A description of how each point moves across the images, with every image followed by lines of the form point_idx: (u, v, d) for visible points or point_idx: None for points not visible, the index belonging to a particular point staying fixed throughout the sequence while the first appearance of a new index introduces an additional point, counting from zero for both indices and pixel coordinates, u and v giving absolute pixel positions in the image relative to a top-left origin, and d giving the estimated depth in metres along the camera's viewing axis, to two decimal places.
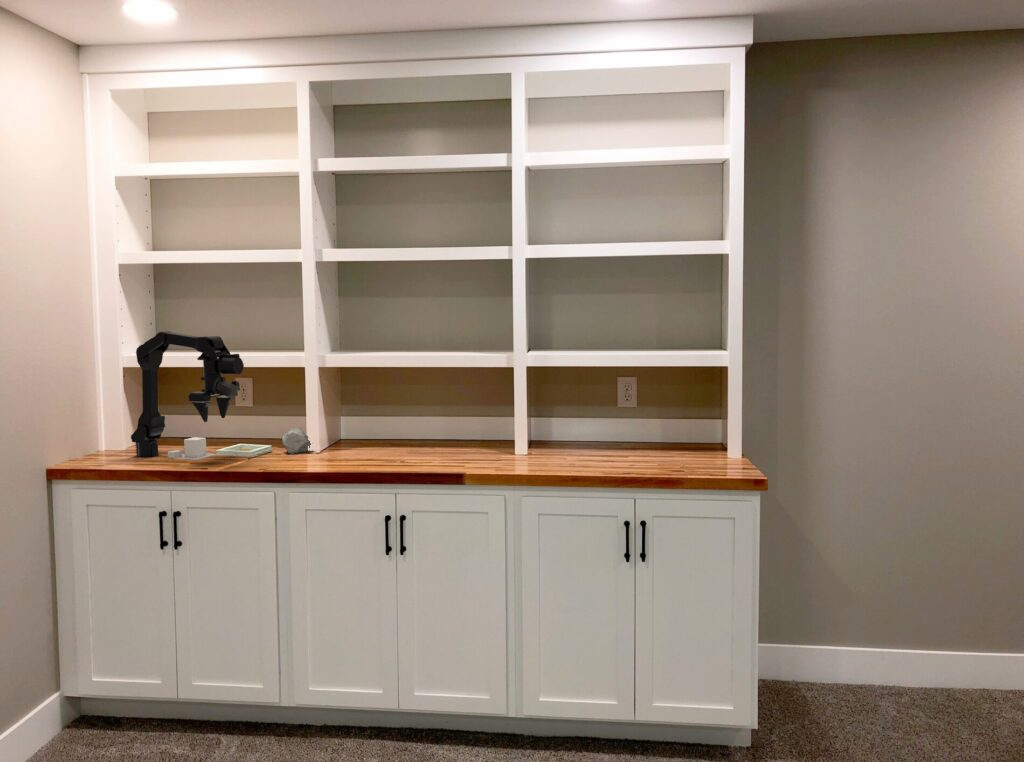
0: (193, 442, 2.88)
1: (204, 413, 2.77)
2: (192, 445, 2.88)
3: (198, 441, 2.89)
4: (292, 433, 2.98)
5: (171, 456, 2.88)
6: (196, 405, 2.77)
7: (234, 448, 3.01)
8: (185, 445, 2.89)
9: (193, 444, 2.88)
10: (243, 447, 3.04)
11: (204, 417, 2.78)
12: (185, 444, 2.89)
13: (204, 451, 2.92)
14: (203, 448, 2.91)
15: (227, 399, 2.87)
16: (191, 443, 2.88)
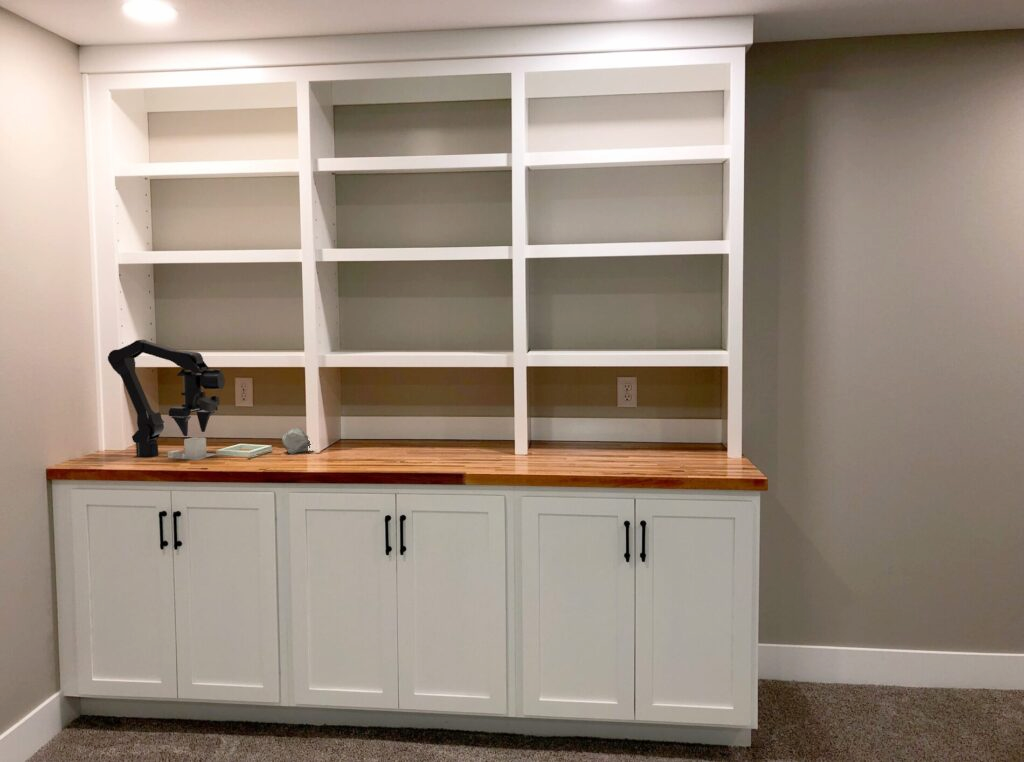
0: (193, 442, 2.88)
1: (184, 427, 2.85)
2: (192, 445, 2.88)
3: (198, 441, 2.89)
4: (292, 433, 2.98)
5: (171, 456, 2.88)
6: (176, 420, 2.84)
7: (234, 448, 3.01)
8: (185, 445, 2.89)
9: (193, 444, 2.88)
10: (243, 447, 3.04)
11: (184, 431, 2.85)
12: (185, 444, 2.89)
13: (204, 451, 2.92)
14: (203, 448, 2.91)
15: (207, 413, 2.94)
16: (191, 443, 2.88)
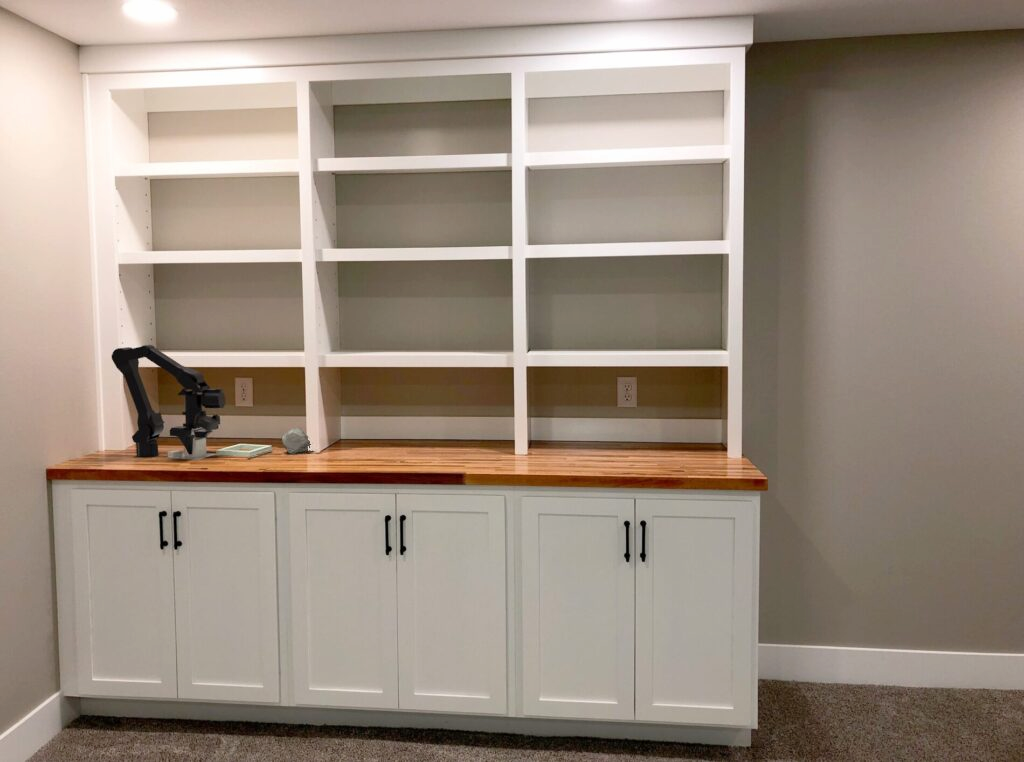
0: (193, 442, 2.88)
1: (189, 446, 2.87)
2: None
3: (198, 441, 2.89)
4: (292, 433, 2.98)
5: (171, 456, 2.88)
6: (181, 438, 2.87)
7: (234, 448, 3.01)
8: None
9: (193, 444, 2.88)
10: (243, 447, 3.04)
11: (189, 450, 2.88)
12: None
13: (204, 451, 2.92)
14: (203, 448, 2.91)
15: (204, 433, 2.93)
16: None
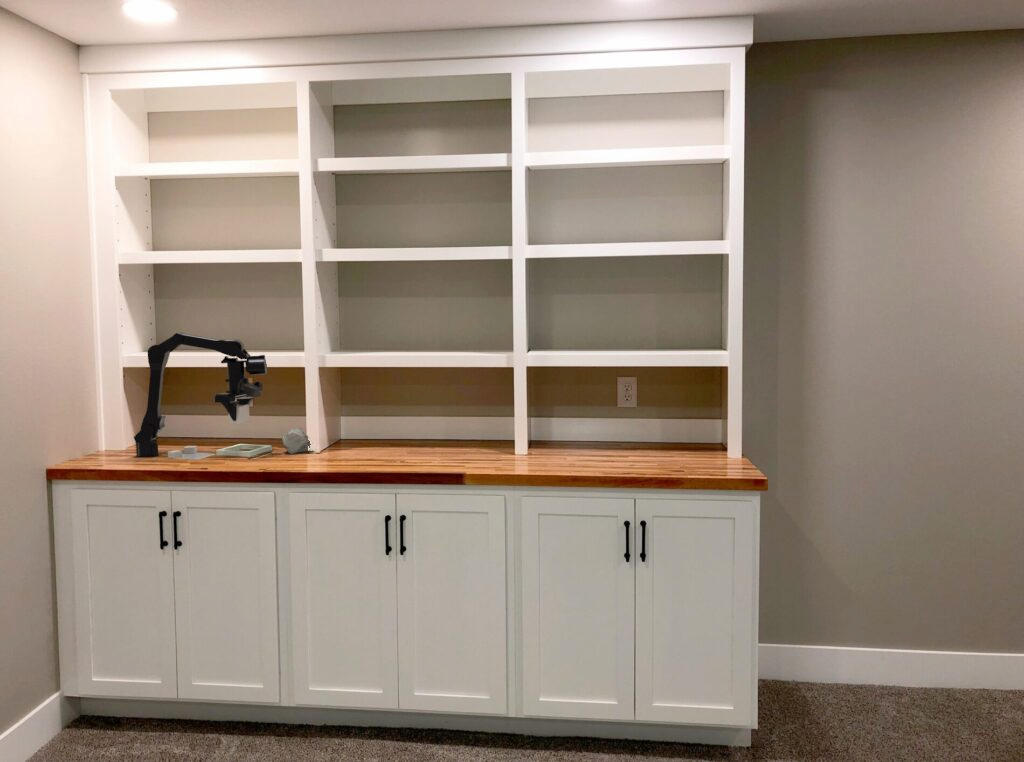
0: None
1: (233, 412, 2.92)
2: None
3: (242, 407, 2.93)
4: (292, 433, 2.98)
5: (171, 456, 2.88)
6: (225, 405, 2.92)
7: (234, 448, 3.01)
8: None
9: (237, 410, 2.93)
10: (243, 447, 3.04)
11: (233, 416, 2.93)
12: None
13: (247, 417, 2.97)
14: (247, 414, 2.96)
15: (247, 400, 2.98)
16: None
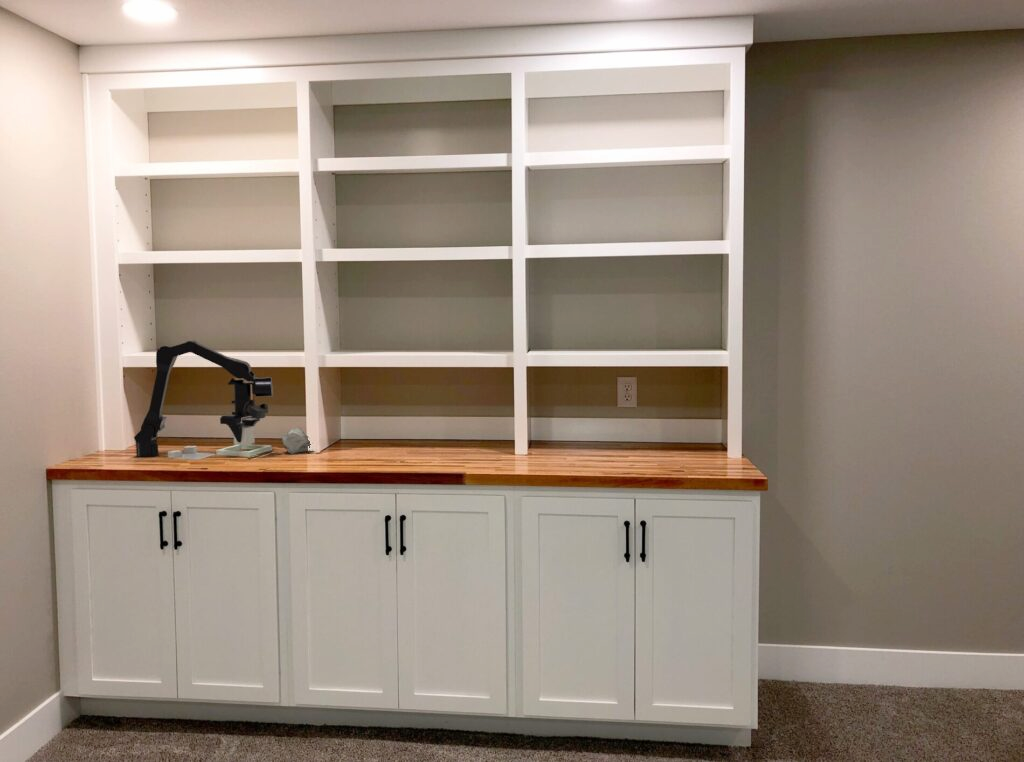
0: (242, 430, 2.94)
1: (238, 434, 2.94)
2: None
3: (247, 429, 2.95)
4: (292, 433, 2.98)
5: (171, 456, 2.88)
6: (231, 426, 2.93)
7: (234, 448, 3.01)
8: None
9: (242, 432, 2.94)
10: (243, 447, 3.04)
11: (238, 438, 2.94)
12: None
13: (252, 439, 2.98)
14: (252, 436, 2.98)
15: (252, 422, 2.99)
16: None
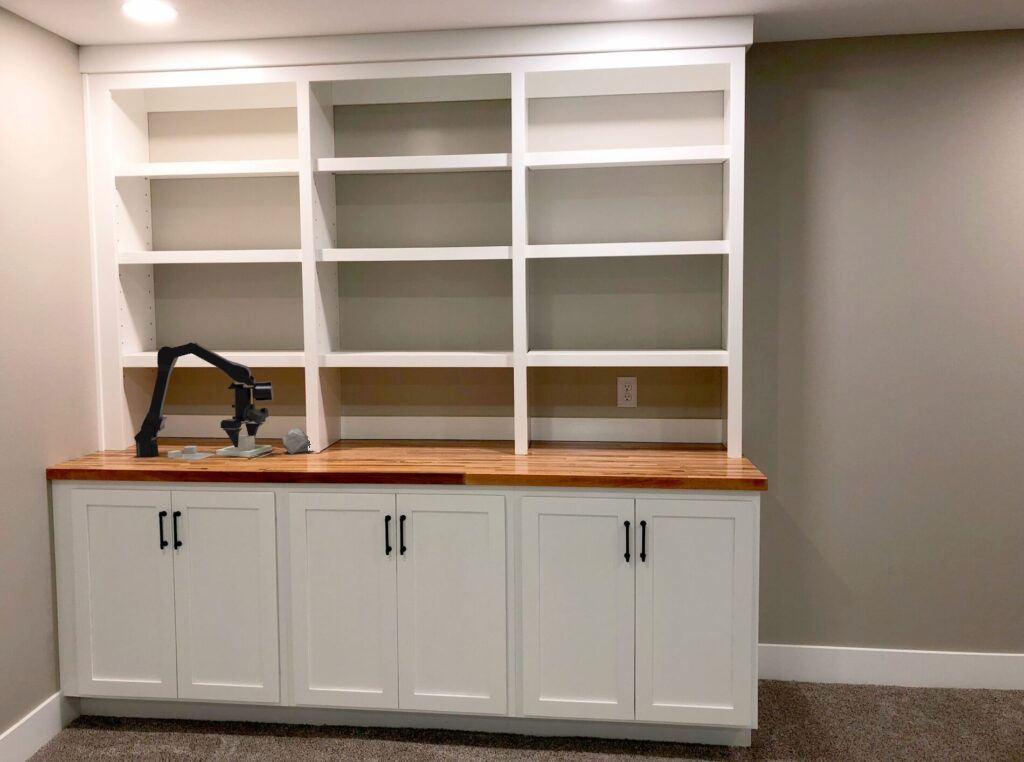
0: (242, 439, 2.95)
1: (235, 439, 2.92)
2: (241, 442, 2.95)
3: (247, 439, 2.95)
4: (292, 433, 2.98)
5: (171, 456, 2.88)
6: (227, 431, 2.92)
7: None
8: None
9: (243, 442, 2.95)
10: None
11: (235, 443, 2.93)
12: None
13: (253, 448, 2.99)
14: (252, 445, 2.98)
15: (256, 425, 3.01)
16: (241, 440, 2.95)
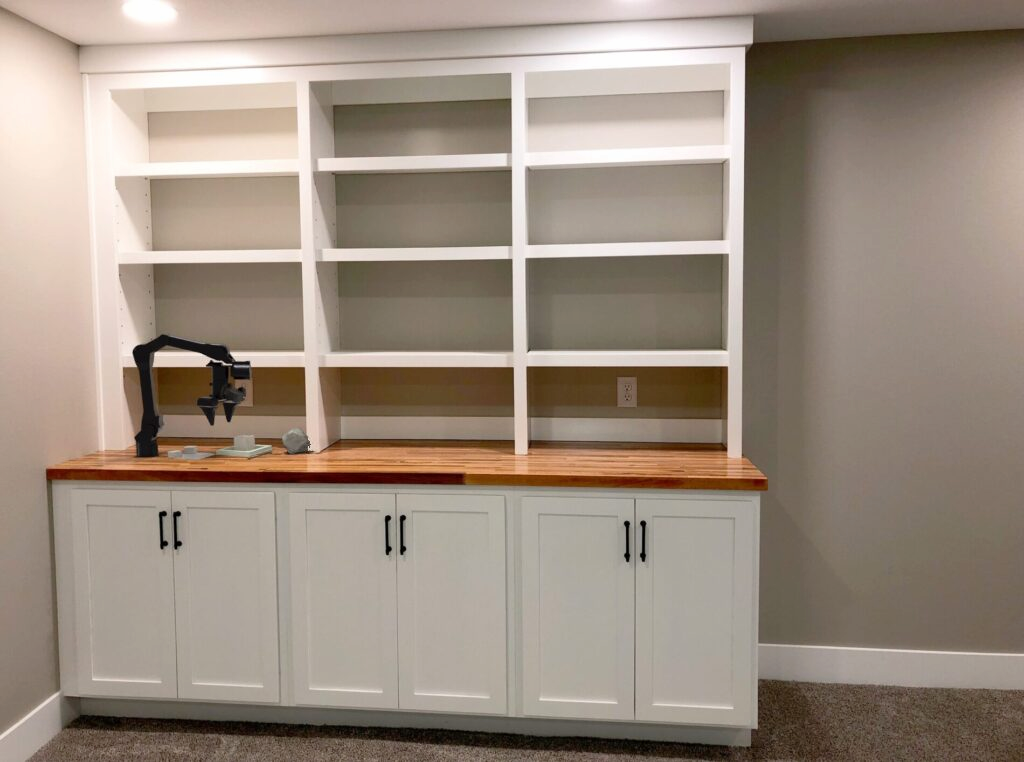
0: (242, 439, 2.95)
1: (211, 417, 2.90)
2: (241, 442, 2.95)
3: (247, 439, 2.95)
4: (292, 433, 2.98)
5: (171, 456, 2.88)
6: (204, 409, 2.90)
7: None
8: (235, 443, 2.96)
9: (243, 442, 2.95)
10: None
11: (211, 421, 2.91)
12: (235, 442, 2.96)
13: (253, 448, 2.99)
14: (252, 445, 2.98)
15: (233, 404, 3.00)
16: (241, 440, 2.95)
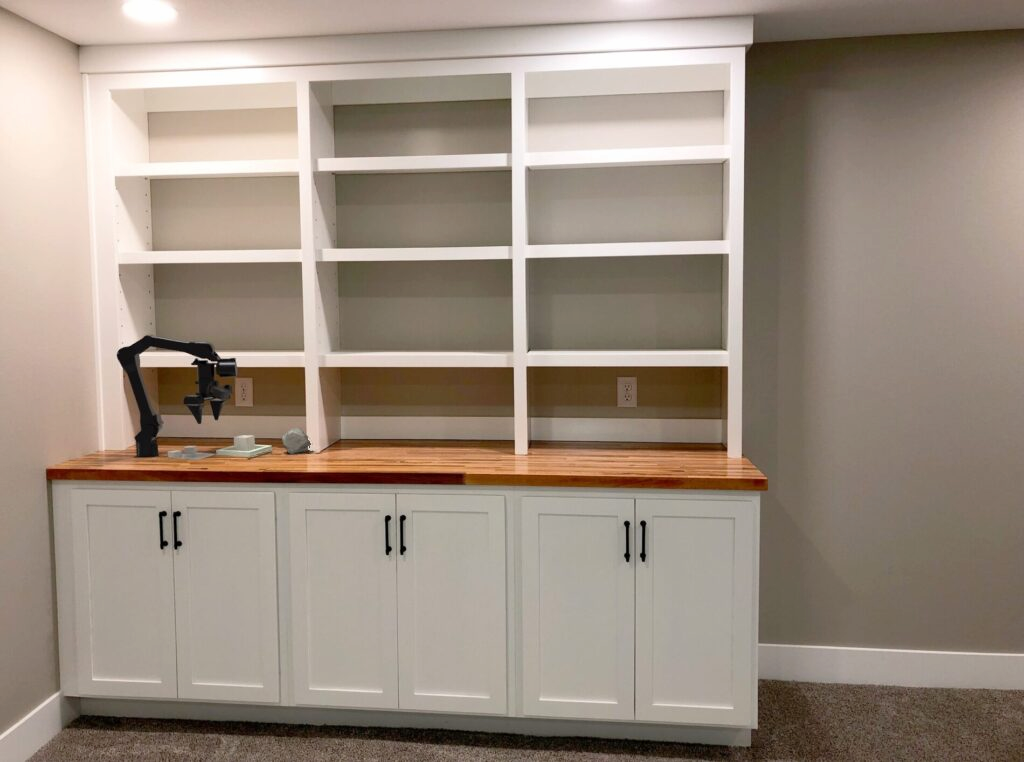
0: (242, 439, 2.95)
1: (198, 415, 2.90)
2: (241, 442, 2.95)
3: (247, 439, 2.95)
4: (292, 433, 2.98)
5: (171, 456, 2.88)
6: (190, 408, 2.89)
7: None
8: (235, 443, 2.96)
9: (243, 442, 2.95)
10: None
11: (198, 419, 2.90)
12: (235, 442, 2.96)
13: (253, 448, 2.99)
14: (252, 445, 2.98)
15: (220, 402, 2.99)
16: (241, 440, 2.95)
